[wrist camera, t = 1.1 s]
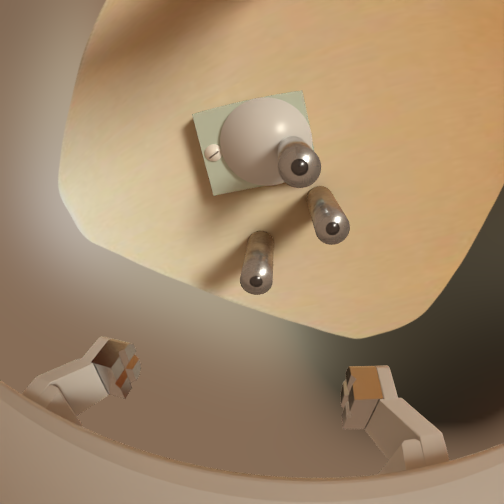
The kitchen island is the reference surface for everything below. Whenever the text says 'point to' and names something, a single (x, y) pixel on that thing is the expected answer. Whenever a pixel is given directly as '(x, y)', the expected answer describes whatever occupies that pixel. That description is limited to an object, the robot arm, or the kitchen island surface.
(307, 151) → the cylinder
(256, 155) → the scale
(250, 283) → the cylinder
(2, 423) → the robot arm
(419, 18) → the kitchen island surface
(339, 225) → the cylinder
